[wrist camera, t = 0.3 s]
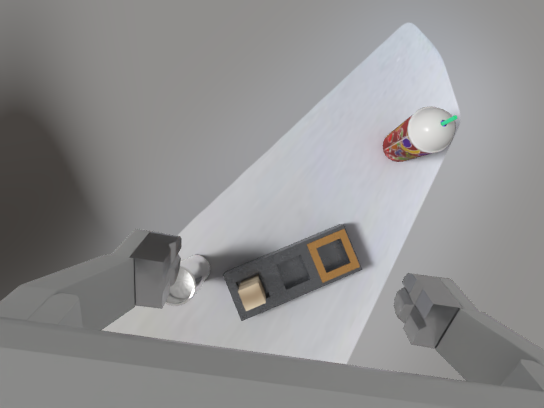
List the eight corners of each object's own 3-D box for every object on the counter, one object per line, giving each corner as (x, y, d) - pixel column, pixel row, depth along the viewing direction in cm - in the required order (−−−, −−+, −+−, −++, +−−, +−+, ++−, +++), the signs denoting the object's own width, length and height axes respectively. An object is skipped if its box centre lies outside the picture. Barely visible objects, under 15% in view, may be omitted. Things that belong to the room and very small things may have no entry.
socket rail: (339, 224, 63) (344, 224, 59) (356, 266, 63) (362, 269, 59) (225, 271, 62) (222, 275, 58) (242, 315, 62) (241, 321, 58)
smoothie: (386, 172, 64) (443, 152, 44) (370, 138, 64) (420, 104, 44) (419, 157, 65) (490, 130, 45) (403, 123, 65) (466, 82, 45)
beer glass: (210, 250, 62) (193, 261, 47) (214, 282, 62) (199, 303, 47) (178, 255, 62) (151, 267, 47) (182, 287, 61) (156, 310, 46)
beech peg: (265, 291, 61) (266, 302, 53) (247, 298, 61) (246, 311, 53) (258, 274, 61) (257, 282, 53) (240, 281, 61) (237, 291, 53)
